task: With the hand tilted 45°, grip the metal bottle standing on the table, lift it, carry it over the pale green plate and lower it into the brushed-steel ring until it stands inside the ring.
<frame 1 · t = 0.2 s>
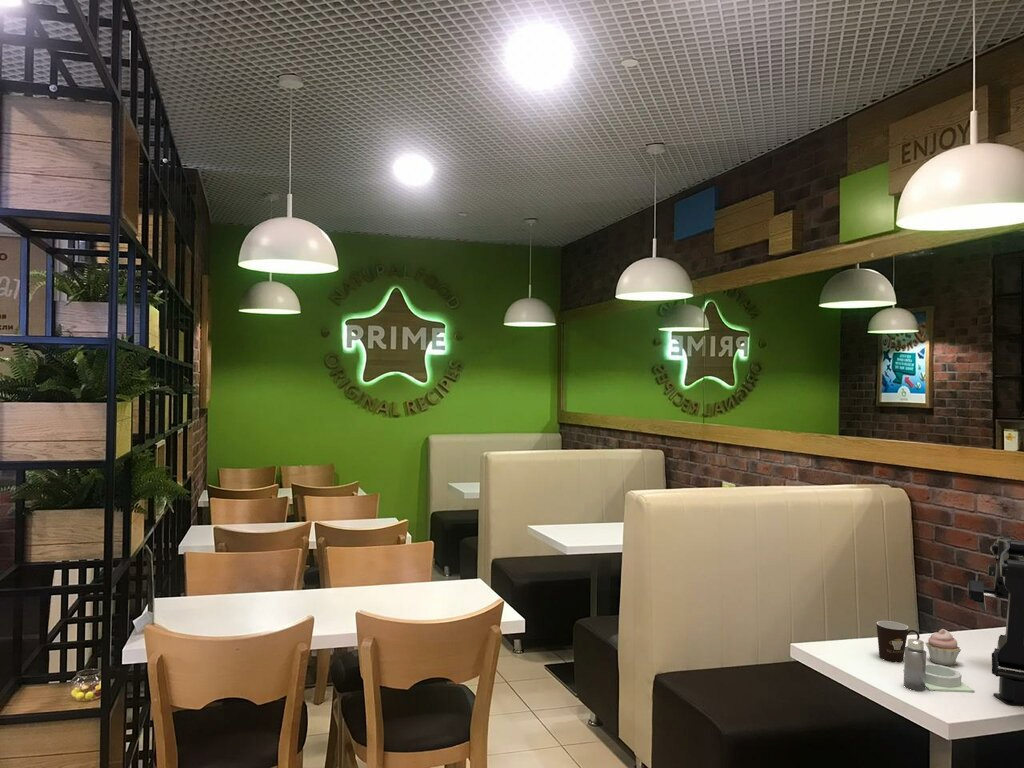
hand: (1002, 615, 229), 15 cm above the table, tool tilted 30°, fingers open, 9 cm apart
ring plate: (937, 681, 214), on the table
metal bottle: (914, 687, 209), on the table
coffee mug: (896, 660, 231), on the table
cupcake: (942, 663, 230), on the table
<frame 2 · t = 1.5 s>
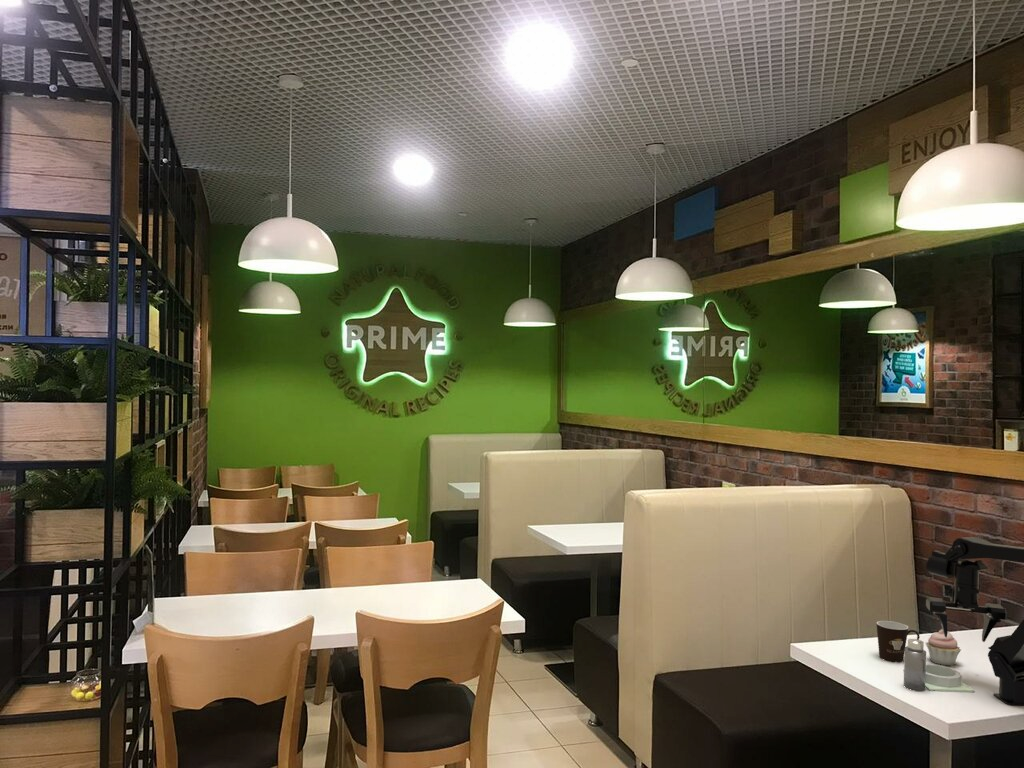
hand: (964, 639, 214), 12 cm above the table, tool pointing down, fingers open, 9 cm apart
nothing on the table moved.
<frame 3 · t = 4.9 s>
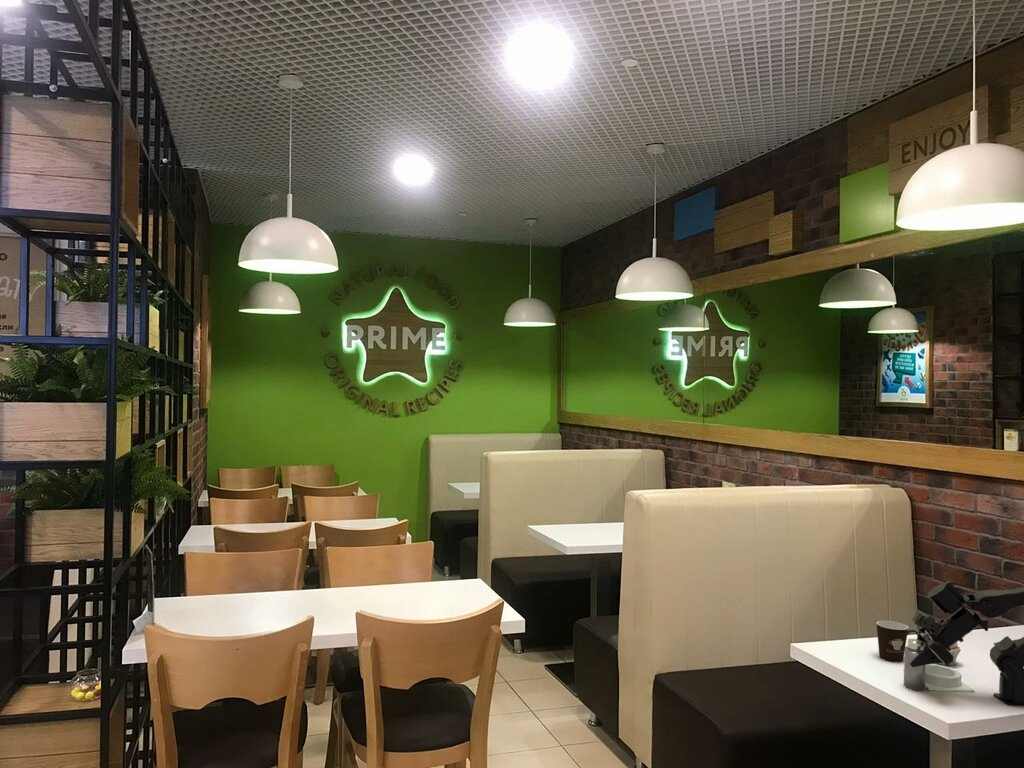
hand: (909, 662, 209), 7 cm above the table, tool tilted 45°, fingers closed on metal bottle, 5 cm apart
metal bottle: (914, 687, 209), on the table, touching gripper
everything else where it was.
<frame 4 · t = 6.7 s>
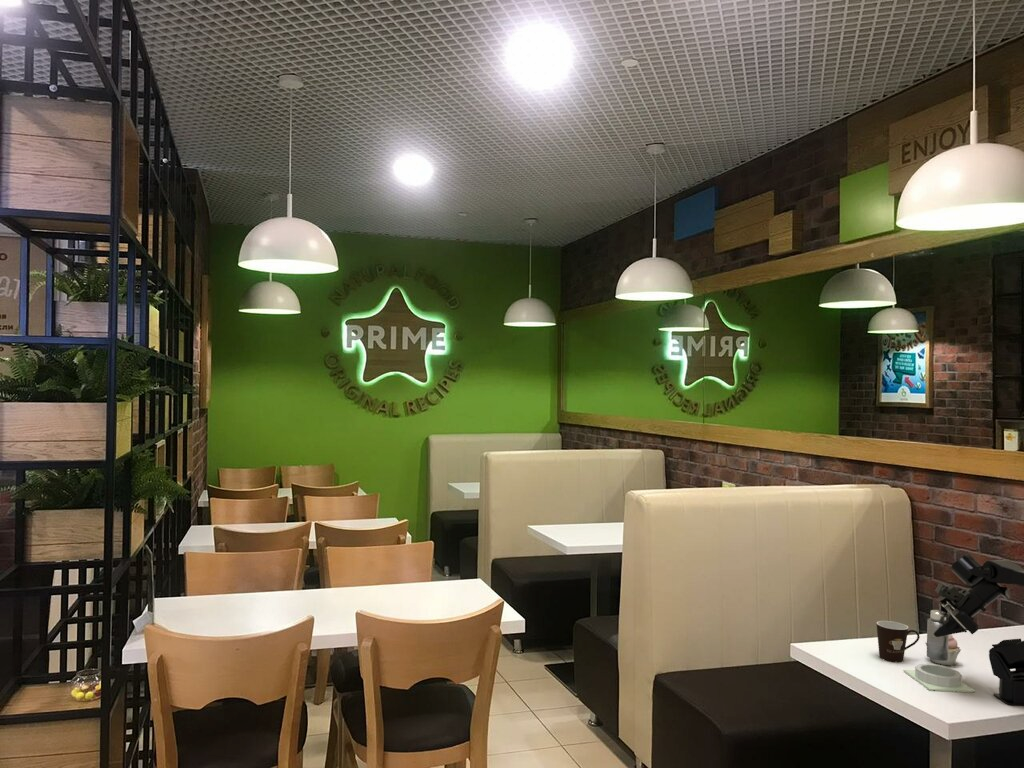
hand: (932, 632, 214), 14 cm above the table, tool tilted 45°, fingers closed on metal bottle, 5 cm apart
metal bottle: (937, 657, 213), point 7 cm above the table, touching gripper
everything else where it was.
when the fingers open (7 cm above the table, at t = 8.6 s): metal bottle stays where it is, resting on ring plate.
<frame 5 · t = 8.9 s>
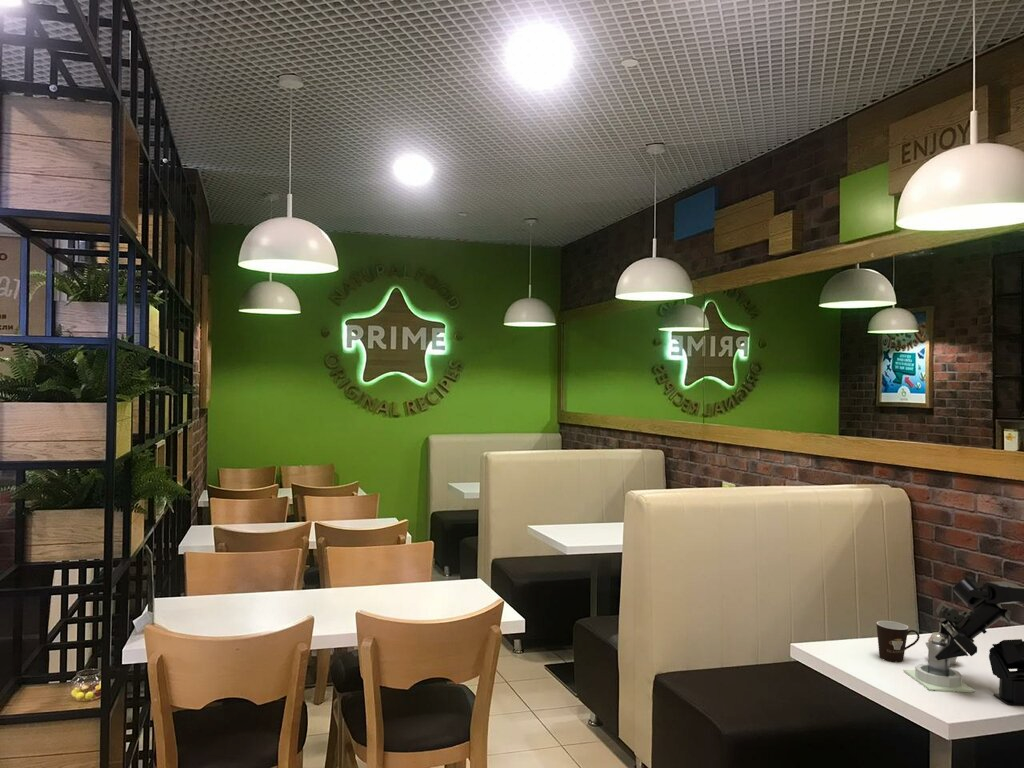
hand: (933, 653, 214), 8 cm above the table, tool tilted 45°, fingers open, 9 cm apart
metal bottle: (938, 679, 214), point 1 cm above the table, touching ring plate
everything else where it was.
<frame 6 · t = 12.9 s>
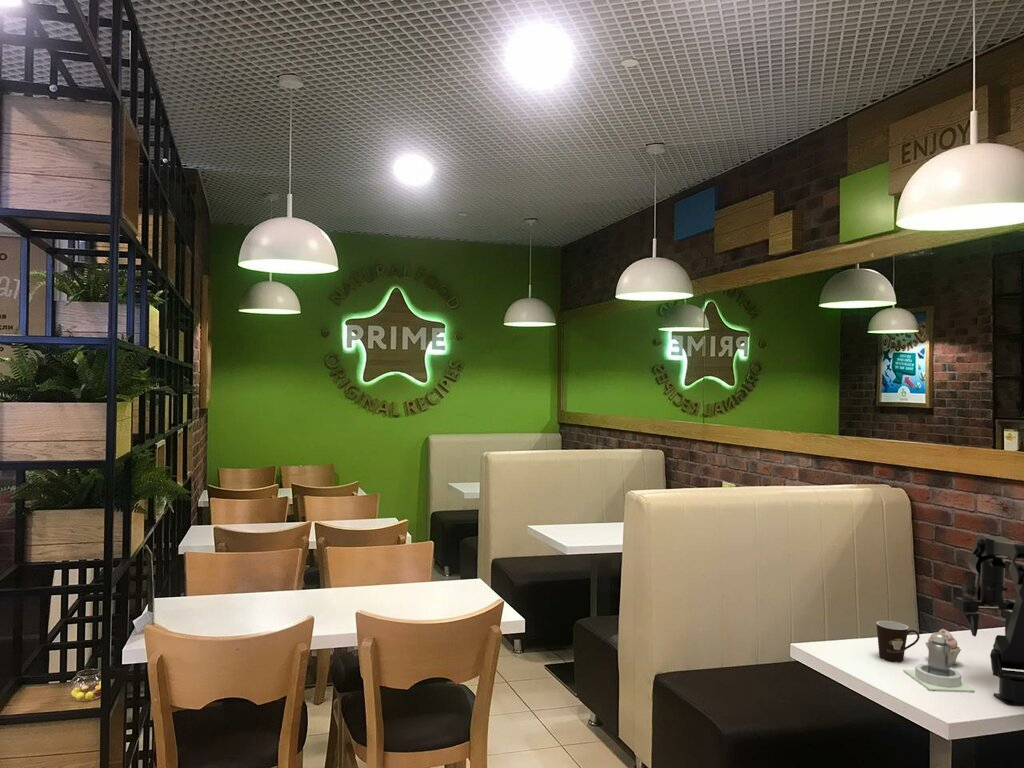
hand: (990, 636, 217), 12 cm above the table, tool pointing down, fingers open, 9 cm apart
nothing on the table moved.
at the end: metal bottle 0.1 cm from the ring plate (horizontally); metal bottle tilted 1°; metal bottle point 0.5 cm above the table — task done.
